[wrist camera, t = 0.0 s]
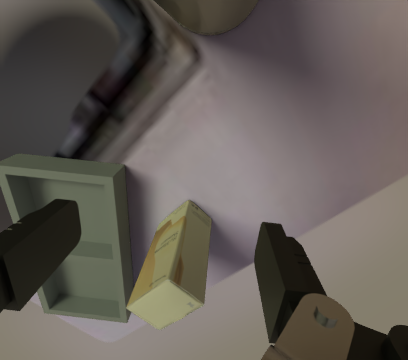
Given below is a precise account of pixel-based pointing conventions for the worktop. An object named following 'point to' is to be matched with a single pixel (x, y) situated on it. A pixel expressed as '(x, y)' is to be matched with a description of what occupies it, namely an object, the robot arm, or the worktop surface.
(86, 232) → the carton tray
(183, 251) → the skincare box
